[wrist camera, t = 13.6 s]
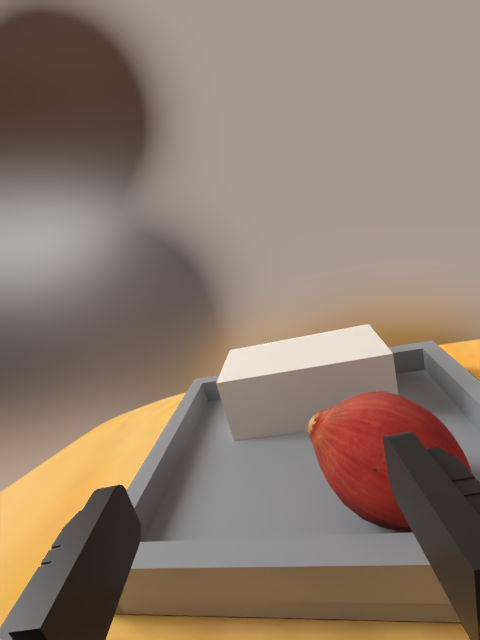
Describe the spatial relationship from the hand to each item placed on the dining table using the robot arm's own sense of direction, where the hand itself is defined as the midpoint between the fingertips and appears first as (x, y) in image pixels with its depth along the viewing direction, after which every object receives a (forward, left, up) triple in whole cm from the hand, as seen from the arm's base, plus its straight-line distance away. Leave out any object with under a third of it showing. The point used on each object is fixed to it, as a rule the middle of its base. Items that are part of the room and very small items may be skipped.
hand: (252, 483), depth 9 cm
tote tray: (+1, +10, -8) cm, 13 cm away
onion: (+1, +7, -3) cm, 7 cm away
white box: (+1, +15, -7) cm, 17 cm away
